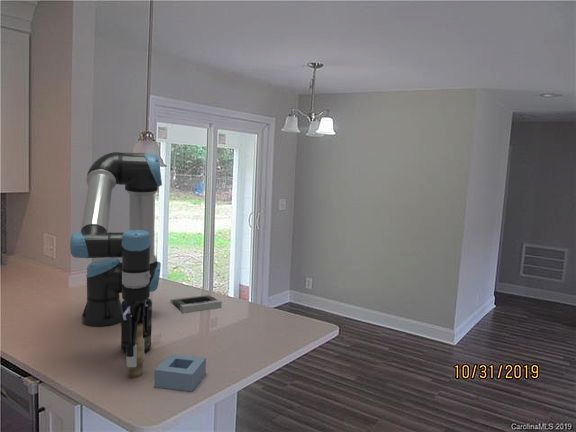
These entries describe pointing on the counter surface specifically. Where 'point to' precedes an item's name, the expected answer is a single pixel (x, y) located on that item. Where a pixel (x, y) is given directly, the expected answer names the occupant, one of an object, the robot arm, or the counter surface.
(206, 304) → the gray rectangular tray
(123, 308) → the canister
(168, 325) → the counter surface
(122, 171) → the robot arm
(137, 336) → the dowel
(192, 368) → the socket block
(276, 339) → the counter surface
